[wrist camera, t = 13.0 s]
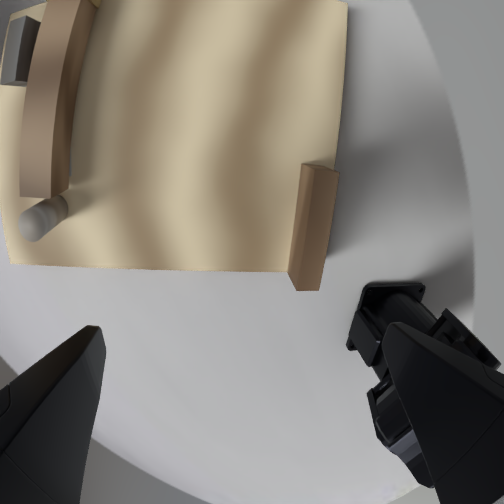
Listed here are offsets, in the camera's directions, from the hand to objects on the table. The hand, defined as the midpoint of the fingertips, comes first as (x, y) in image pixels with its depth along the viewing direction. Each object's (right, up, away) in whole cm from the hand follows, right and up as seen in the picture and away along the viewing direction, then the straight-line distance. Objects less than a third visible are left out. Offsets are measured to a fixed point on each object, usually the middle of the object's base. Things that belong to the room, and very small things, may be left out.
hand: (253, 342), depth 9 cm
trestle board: (-6, +10, +8) cm, 14 cm away
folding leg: (-11, +12, +4) cm, 17 cm away
